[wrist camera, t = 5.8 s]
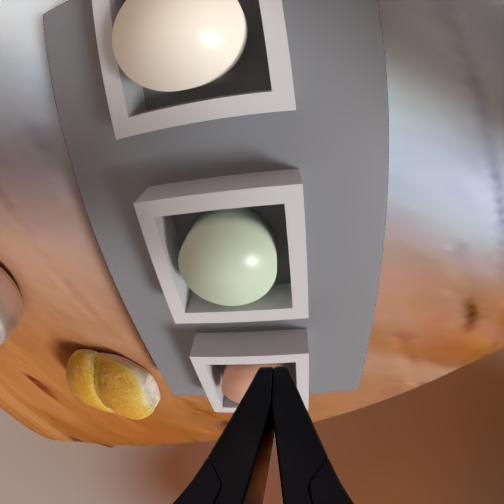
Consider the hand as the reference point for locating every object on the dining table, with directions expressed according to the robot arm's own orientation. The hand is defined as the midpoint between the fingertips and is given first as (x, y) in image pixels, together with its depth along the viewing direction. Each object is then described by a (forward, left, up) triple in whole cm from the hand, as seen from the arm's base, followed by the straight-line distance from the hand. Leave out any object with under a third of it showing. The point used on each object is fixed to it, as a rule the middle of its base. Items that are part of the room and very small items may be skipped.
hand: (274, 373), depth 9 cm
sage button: (+2, -1, -6) cm, 7 cm away
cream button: (+2, -10, -5) cm, 11 cm away
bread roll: (+16, +13, -9) cm, 22 cm away
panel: (+2, -1, -9) cm, 9 cm away
